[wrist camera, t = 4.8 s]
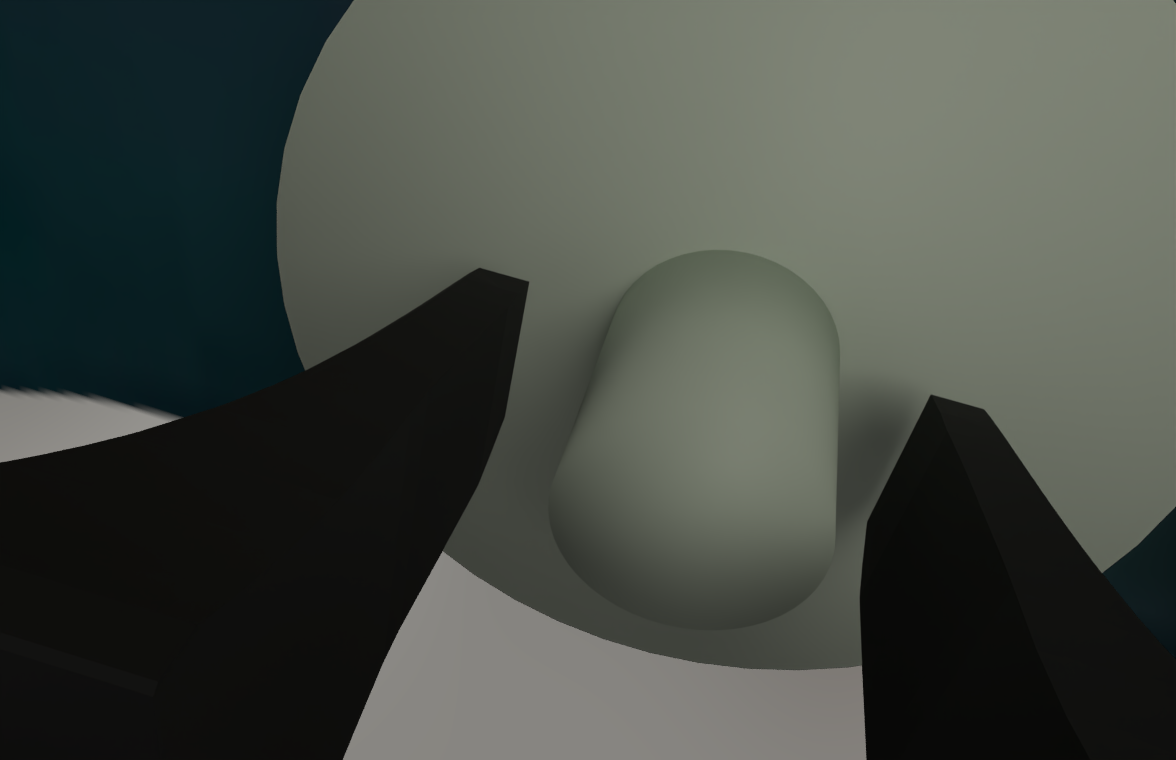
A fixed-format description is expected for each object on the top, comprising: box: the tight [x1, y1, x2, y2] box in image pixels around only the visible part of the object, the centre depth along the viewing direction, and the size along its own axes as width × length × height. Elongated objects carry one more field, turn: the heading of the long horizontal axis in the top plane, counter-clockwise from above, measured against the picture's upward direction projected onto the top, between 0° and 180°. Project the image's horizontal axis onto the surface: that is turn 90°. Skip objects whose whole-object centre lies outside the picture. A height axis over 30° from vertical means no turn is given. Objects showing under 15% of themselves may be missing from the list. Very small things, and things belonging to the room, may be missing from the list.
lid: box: [277, 0, 1176, 670], centre depth 11 cm, size 12×12×4 cm
